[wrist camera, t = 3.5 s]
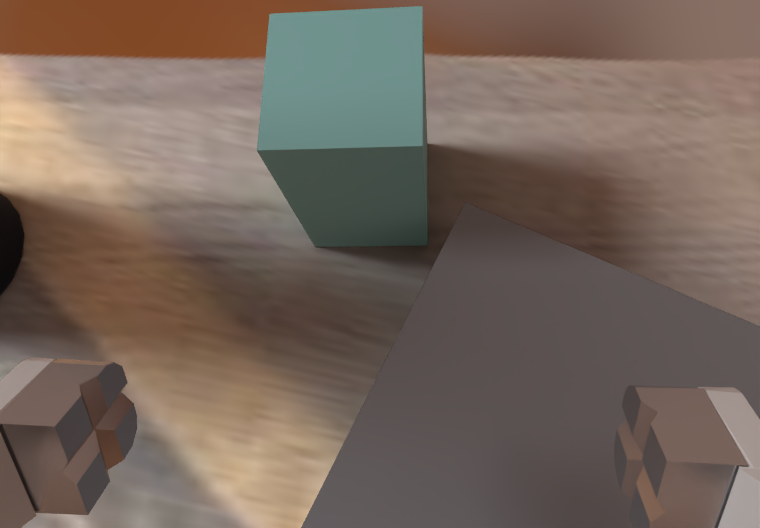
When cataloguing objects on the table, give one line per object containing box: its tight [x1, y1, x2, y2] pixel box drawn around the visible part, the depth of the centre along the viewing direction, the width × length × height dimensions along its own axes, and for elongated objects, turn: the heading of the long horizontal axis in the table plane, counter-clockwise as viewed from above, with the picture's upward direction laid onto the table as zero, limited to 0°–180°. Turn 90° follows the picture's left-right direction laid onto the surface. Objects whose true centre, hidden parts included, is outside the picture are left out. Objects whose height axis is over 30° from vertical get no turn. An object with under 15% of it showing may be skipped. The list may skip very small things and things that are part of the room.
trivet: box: [301, 202, 760, 528], centre depth 19 cm, size 12×12×3 cm
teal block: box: [257, 6, 428, 247], centre depth 20 cm, size 4×4×8 cm
